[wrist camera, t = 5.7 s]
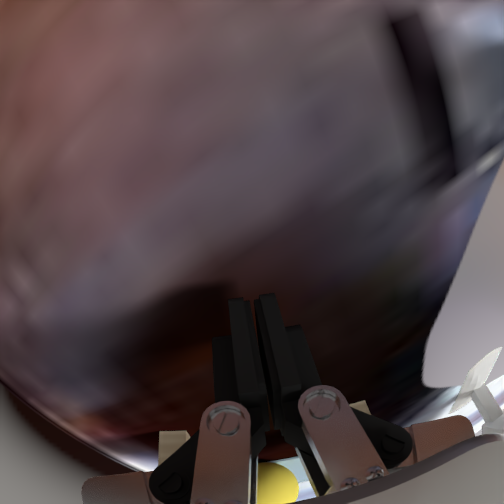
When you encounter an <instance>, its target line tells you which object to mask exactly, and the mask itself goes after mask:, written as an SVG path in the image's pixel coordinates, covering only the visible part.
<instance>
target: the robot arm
mask: <svg viewBox="0 0 504 504" xmlns="http://www.w3.org/2000/svg"><path fill="white" fill-rule="evenodd" d="M228 304H229V314H230V324H231V333H232V335H228V336H220V337H213V338H212V352H213V373H214V391H215V404H213V405H211V406H210V407H208V408H207V409H206V411H205V412H204V413H203V416H202V419H201V424H200V429H199V430H198V431H197V432H196V433H195V434H194V435H193V436H192V437H191V438H190V439H188V440H187V441H186V442H185V443H184V444H183V445H182V446H181V447H180V448H179V449H177V450H176V451H175V452H174V453H173V454H172V455H171V456H170V457H168V458H167V459H166V460H165V461H164V462H163V463H161V464H160V465H159V466H158V467H157V468H156V469H155V470H154V471H150V472H143V471H139V472H133V473H126V474H118V475H109V476H101V477H100V476H99V477H93V478H89V479H88V480H86V481H85V482H84V484H83V486H82V500H83V504H257V480H258V454H259V452H260V451H261V450H262V449H263V448H264V447H265V446H266V438H265V431H270V426H269V414H268V402H267V395H268V400H269V405H270V410H271V415H272V420H273V425H274V429H275V430H277V429H280V430H281V435H282V436H284V439H285V442H287V443H289V444H291V445H293V446H294V447H295V450H296V452H297V454H298V456H299V459H300V461H301V463H302V466H303V468H304V470H305V472H306V475H307V477H308V479H309V481H310V484H311V486H312V488H313V490H314V492H315V495H316V497H315V498H311V499H307V500H302V501H297V502H292V503H286V504H504V434H502V433H489V434H483V435H479V436H475V434H474V430H473V427H472V424H471V422H470V421H469V420H468V419H467V418H466V417H464V416H461V415H456V416H451V417H447V418H443V419H438V420H433V421H429V422H423V423H418V424H412V425H411V426H410V427H406V428H402V427H400V426H398V425H395V424H393V423H390V422H387V421H385V420H382V419H380V418H377V417H375V416H372V415H370V414H367V413H365V412H362V411H360V410H357V409H355V408H353V407H350V406H349V404H348V402H347V401H346V399H345V397H344V396H343V395H342V393H341V392H340V391H339V390H337V389H335V388H334V387H330V386H325V385H322V384H321V381H320V378H319V375H318V372H317V369H316V366H315V364H314V361H313V358H312V355H311V352H310V349H309V346H308V344H307V341H306V338H305V335H304V332H303V330H302V327H301V326H300V325H295V326H289V327H284V323H283V320H282V317H281V313H280V310H279V307H278V303H277V300H276V297H275V294H274V293H270V294H263V295H259V299H256V300H254V306H255V316H256V326H257V336H258V343H257V338H256V333H255V328H254V322H253V317H252V312H251V306H250V301H243V297H242V298H235V299H228ZM258 346H259V348H258ZM259 353H260V354H259ZM265 384H266V385H265ZM266 389H267V392H266Z"/></svg>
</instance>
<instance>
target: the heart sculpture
mask: <svg viewBox="0 0 504 504" xmlns="http://www.w3.org/2000/svg"><path fill="white" fill-rule="evenodd" d="M501 349H502V347H500V348H497V349H495V350H493V351H491V352H490V353H488V354H487V355H486V356H485V357H484V358H483V359H481V360H480V361H479V362H478V363H477V364H476V365H475V366H474V367H473V368H472V369H471V370H470V371H469V372H468V374H467V376H466V379H465V381H464V383H463V385H462V388H461V390H460V392H459V394H458V396H457V399H456V401H455V403H454V405H453V407H452V409H451V411H450V413H452V412H455V411H457V410H459V409H460V408H462V407H464V406H465V405H466V404H468V403H469V402H470V401H471V400H473V402H474V403H475V405H476V407H477V409H478V410H479V412H480V414H481V416H482V417H483V419H484V421H485V424H483V425H482V435H483V434H489V433H502V434H504V409H503V410H501V408H500V407H499V405H498V403H497V402H496V400H495V399H494V397H493V395H492V394H491V392H490V391H489V389H488V387H487V386H486V384H485V382H486V380H487V377H488V376H489V374H490V372H491V370H492V368H493V366H494V364H495V362H496V360H497V358H498V355H499V353H500V351H501ZM450 413H449V414H450Z"/></svg>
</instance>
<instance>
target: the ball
mask: <svg viewBox="0 0 504 504" xmlns="http://www.w3.org/2000/svg"><path fill="white" fill-rule="evenodd" d="M298 492H299V486H298V481H297V479H296V477H295V476H294V474H293V473H292V472H291V471H290V470H289V469H287V468H286V467H284V466H282V465H280V464H277V463H271V462H262V463H258V480H257V504H286V503H292V502H295V501H296V499H297V496H298Z"/></svg>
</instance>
